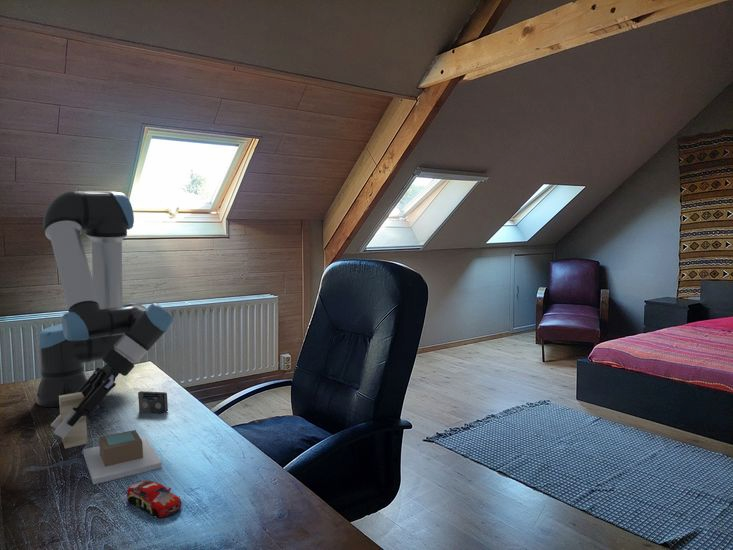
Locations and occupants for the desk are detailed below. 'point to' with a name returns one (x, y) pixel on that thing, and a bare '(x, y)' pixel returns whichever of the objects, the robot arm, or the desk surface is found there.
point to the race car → (153, 498)
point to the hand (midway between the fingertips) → (56, 431)
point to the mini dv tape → (153, 402)
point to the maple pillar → (80, 429)
